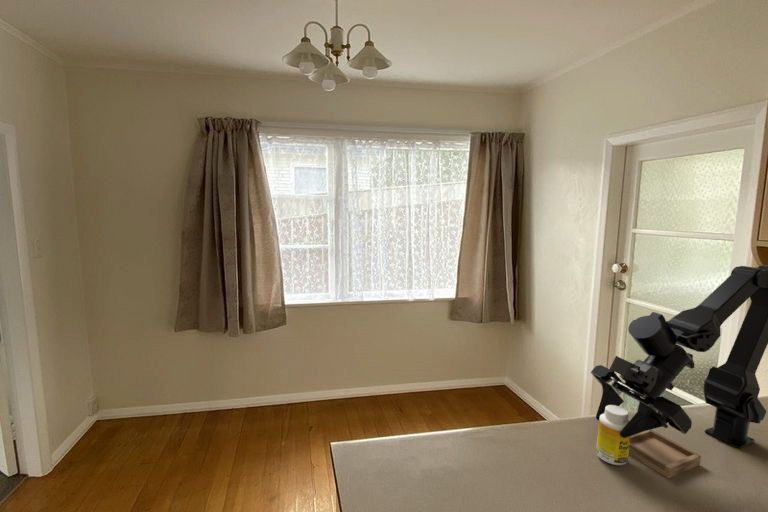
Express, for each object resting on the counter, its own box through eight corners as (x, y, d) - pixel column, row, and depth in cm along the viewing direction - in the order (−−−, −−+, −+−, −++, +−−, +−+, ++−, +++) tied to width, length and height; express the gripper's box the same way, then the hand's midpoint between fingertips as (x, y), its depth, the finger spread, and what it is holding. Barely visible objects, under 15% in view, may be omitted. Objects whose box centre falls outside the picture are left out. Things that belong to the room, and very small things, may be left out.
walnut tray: (648, 436, 86) (649, 428, 86) (699, 465, 77) (701, 455, 77) (617, 447, 82) (618, 438, 82) (668, 478, 73) (669, 468, 73)
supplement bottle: (619, 470, 74) (624, 420, 73) (590, 454, 79) (594, 407, 77) (633, 460, 77) (638, 412, 76) (604, 445, 82) (609, 399, 81)
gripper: (601, 328, 85) (554, 382, 84) (687, 363, 67) (629, 431, 66) (627, 360, 88) (582, 412, 87) (715, 401, 70) (660, 467, 69)
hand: (609, 427), depth 77 cm, fingers closed on supplement bottle, 5 cm apart
